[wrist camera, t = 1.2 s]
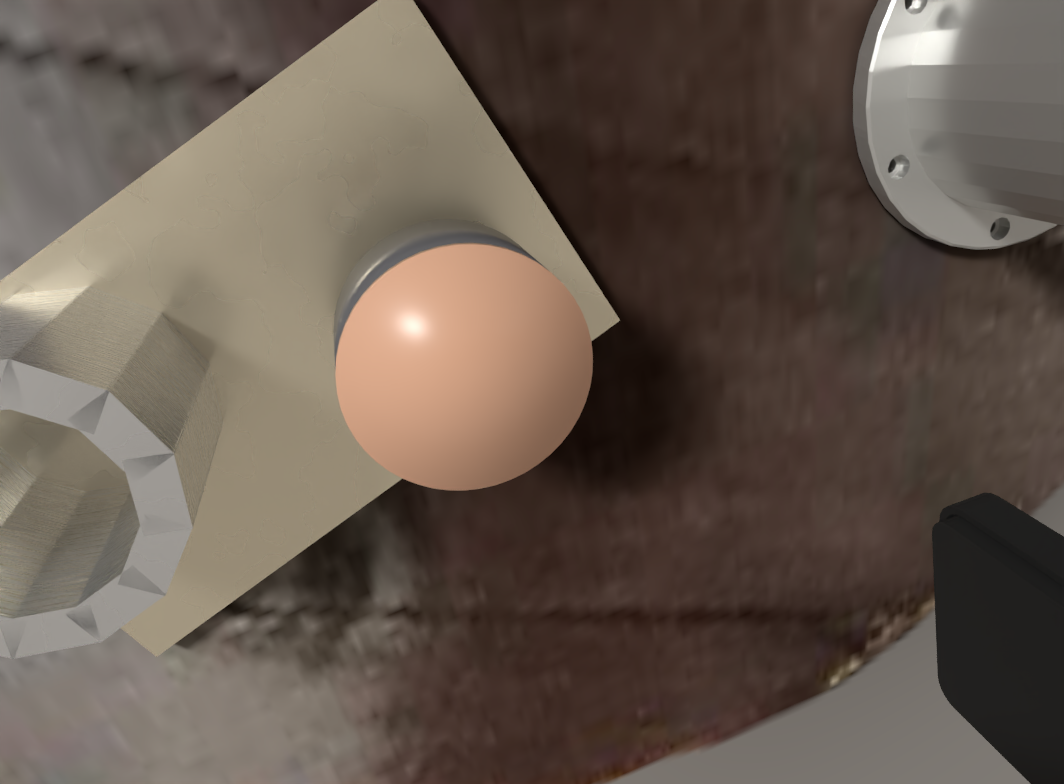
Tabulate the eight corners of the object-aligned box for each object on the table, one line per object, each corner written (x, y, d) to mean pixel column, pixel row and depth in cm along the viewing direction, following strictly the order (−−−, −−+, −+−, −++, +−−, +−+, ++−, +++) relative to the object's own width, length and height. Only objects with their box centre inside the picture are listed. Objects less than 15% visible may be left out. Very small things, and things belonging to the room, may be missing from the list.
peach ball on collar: (458, 161, 26) (501, 189, 20) (568, 322, 29) (637, 392, 23) (288, 286, 26) (277, 354, 20) (414, 435, 29) (440, 535, 23)
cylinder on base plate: (399, -15, 25) (429, -50, 18) (611, 313, 30) (701, 388, 23) (-144, 389, 25) (-332, 515, 18) (161, 639, 31) (111, 813, 24)
